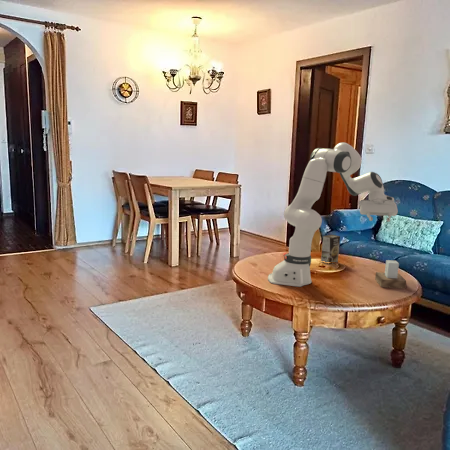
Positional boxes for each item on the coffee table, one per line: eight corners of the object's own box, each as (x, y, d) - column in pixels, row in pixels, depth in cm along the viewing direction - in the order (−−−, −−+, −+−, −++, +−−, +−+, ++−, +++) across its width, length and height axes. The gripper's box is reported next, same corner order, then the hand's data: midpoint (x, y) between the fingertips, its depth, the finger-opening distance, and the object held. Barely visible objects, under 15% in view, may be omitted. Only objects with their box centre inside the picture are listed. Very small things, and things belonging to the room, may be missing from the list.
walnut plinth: (381, 287, 219) (381, 279, 218) (375, 279, 230) (375, 272, 230) (405, 288, 218) (406, 281, 217) (398, 280, 229) (399, 273, 229)
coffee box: (329, 264, 254) (331, 238, 251) (320, 262, 259) (322, 236, 255) (338, 262, 260) (340, 236, 256) (329, 259, 265) (331, 234, 261)
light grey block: (387, 277, 221) (388, 262, 219) (384, 274, 226) (386, 260, 224) (397, 278, 220) (398, 263, 219) (394, 275, 225) (396, 260, 224)
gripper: (359, 196, 244) (361, 216, 236) (396, 198, 242) (400, 218, 235) (357, 203, 249) (359, 222, 241) (393, 204, 247) (396, 224, 240)
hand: (379, 220), depth 238 cm, fingers open, 8 cm apart
